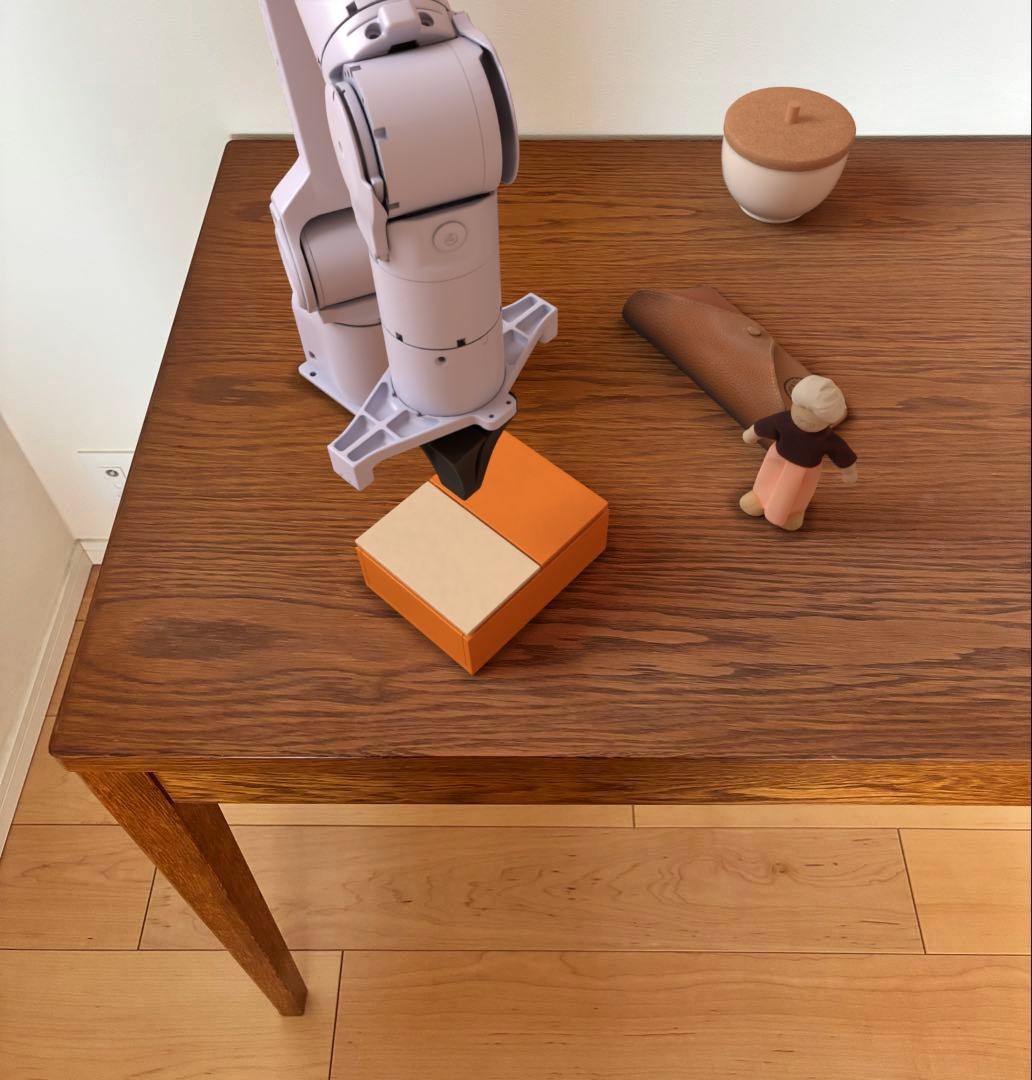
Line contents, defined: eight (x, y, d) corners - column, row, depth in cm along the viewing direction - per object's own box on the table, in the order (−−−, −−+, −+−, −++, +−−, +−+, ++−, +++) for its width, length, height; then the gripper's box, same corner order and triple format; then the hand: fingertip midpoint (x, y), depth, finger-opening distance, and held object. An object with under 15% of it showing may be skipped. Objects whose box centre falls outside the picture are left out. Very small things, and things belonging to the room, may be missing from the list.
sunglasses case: (859, 410, 73) (845, 375, 67) (788, 478, 74) (769, 449, 68) (699, 278, 81) (674, 237, 76) (638, 341, 82) (609, 305, 77)
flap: (467, 636, 58) (467, 633, 57) (355, 543, 62) (354, 540, 61) (540, 569, 60) (540, 566, 60) (428, 483, 64) (427, 480, 64)
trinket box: (713, 161, 91) (729, 63, 83) (831, 169, 90) (858, 70, 82) (710, 236, 85) (726, 138, 77) (836, 245, 84) (866, 146, 76)
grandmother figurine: (719, 517, 68) (752, 391, 58) (732, 476, 70) (765, 347, 60) (831, 548, 67) (885, 423, 56) (841, 505, 69) (895, 377, 58)
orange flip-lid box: (472, 675, 62) (467, 635, 57) (365, 585, 66) (353, 540, 61) (606, 548, 67) (610, 502, 63) (499, 471, 71) (496, 423, 67)
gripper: (385, 439, 41) (418, 604, 53) (606, 267, 47) (594, 449, 58) (278, 359, 44) (331, 532, 55) (500, 206, 50) (507, 390, 61)
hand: (460, 485), depth 57 cm, fingers closed
